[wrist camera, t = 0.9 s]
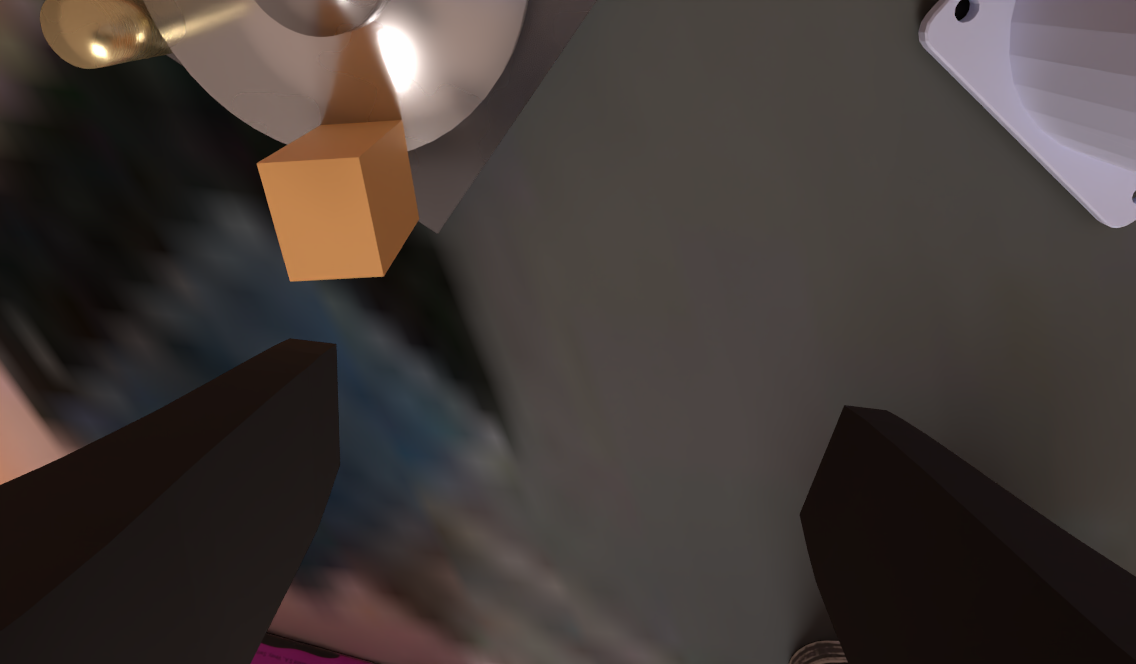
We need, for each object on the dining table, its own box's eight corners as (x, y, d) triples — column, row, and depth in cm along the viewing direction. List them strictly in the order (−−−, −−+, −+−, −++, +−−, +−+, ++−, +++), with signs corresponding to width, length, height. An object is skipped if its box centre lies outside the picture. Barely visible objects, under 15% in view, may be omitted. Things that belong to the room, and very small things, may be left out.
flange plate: (87, -272, 11) (-144, -391, 7) (512, -306, 11) (483, -446, 7) (237, 215, 15) (134, 290, 11) (549, 197, 15) (543, 267, 11)
